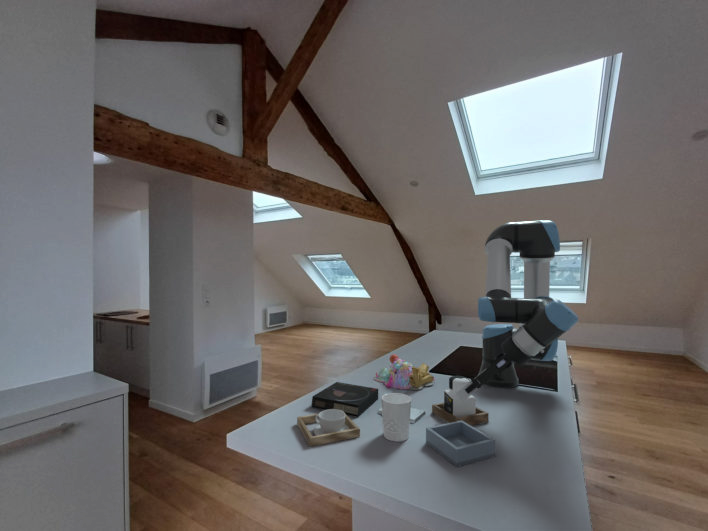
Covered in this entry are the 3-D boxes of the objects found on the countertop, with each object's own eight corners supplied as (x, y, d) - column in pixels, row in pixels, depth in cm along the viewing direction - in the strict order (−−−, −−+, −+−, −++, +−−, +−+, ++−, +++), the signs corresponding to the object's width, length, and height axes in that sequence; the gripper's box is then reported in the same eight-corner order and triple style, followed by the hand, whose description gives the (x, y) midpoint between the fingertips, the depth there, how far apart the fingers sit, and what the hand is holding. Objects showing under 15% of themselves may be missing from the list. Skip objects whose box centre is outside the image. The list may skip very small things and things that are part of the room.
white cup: (410, 444, 84) (410, 404, 84) (379, 441, 85) (379, 402, 86) (411, 430, 92) (411, 394, 92) (383, 427, 93) (383, 391, 93)
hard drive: (425, 410, 103) (390, 401, 110) (414, 419, 96) (377, 409, 103) (425, 416, 103) (390, 406, 110) (414, 425, 96) (377, 414, 103)
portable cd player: (311, 409, 107) (311, 396, 107) (336, 392, 122) (336, 381, 122) (357, 419, 100) (357, 406, 100) (378, 400, 115) (378, 388, 115)
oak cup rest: (341, 416, 100) (341, 409, 100) (359, 436, 88) (359, 428, 88) (297, 424, 95) (297, 416, 95) (310, 446, 82) (310, 438, 82)
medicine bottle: (443, 412, 104) (443, 374, 104) (465, 412, 105) (465, 373, 105) (452, 422, 97) (452, 381, 97) (476, 421, 97) (475, 380, 98)
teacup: (355, 427, 94) (355, 410, 94) (341, 443, 85) (341, 425, 85) (323, 421, 97) (323, 405, 98) (306, 436, 88) (307, 418, 88)
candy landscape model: (442, 379, 139) (442, 357, 139) (422, 396, 119) (422, 370, 120) (388, 369, 152) (389, 349, 153) (362, 383, 133) (362, 360, 133)
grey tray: (461, 434, 89) (461, 420, 90) (495, 456, 79) (495, 440, 79) (426, 442, 85) (426, 427, 85) (456, 466, 74) (456, 449, 74)
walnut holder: (461, 407, 108) (461, 399, 108) (488, 421, 98) (488, 413, 98) (432, 412, 104) (432, 404, 104) (457, 428, 93) (457, 419, 93)
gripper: (524, 367, 78) (462, 415, 87) (539, 349, 99) (487, 390, 107) (500, 342, 82) (442, 391, 90) (519, 329, 102) (470, 371, 110)
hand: (466, 390), depth 98 cm, fingers open, 13 cm apart
